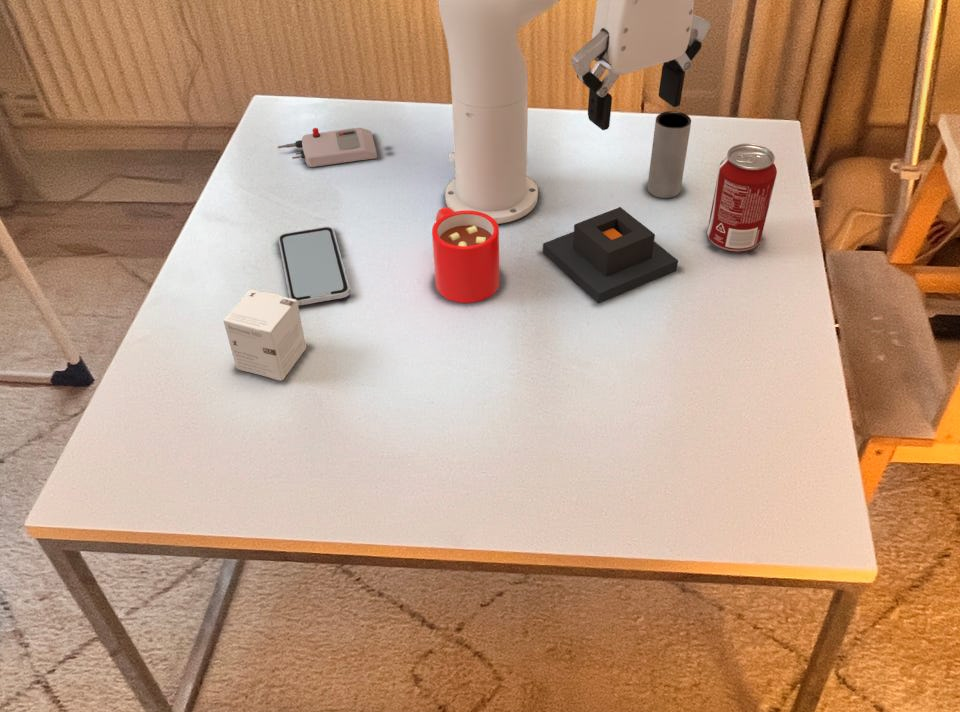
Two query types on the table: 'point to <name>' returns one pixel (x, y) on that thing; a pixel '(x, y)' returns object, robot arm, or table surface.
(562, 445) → the table surface
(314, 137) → the handheld electronic tester
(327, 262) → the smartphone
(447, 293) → the mug
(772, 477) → the table surface
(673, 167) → the gray hollow cylinder
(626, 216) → the black square ring block
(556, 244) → the base pad
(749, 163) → the soda can
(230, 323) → the product carton
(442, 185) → the table surface
